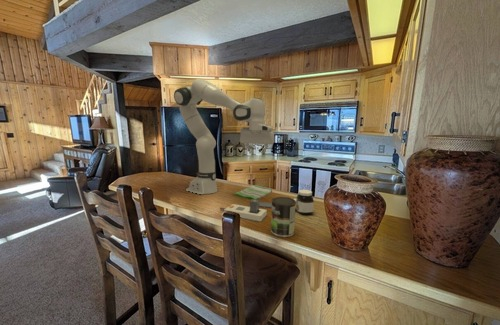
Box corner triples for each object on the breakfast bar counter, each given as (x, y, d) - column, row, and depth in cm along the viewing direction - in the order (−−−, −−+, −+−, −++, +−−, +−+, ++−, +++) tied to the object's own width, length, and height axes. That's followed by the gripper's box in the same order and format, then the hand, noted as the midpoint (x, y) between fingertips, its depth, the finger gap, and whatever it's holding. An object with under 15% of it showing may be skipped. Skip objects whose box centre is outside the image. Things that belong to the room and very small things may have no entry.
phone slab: (253, 207, 124) (253, 205, 124) (255, 203, 130) (256, 201, 130) (277, 209, 120) (277, 208, 120) (278, 205, 127) (278, 203, 126)
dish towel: (272, 192, 152) (273, 187, 151) (255, 201, 133) (255, 196, 132) (252, 188, 161) (252, 184, 161) (233, 196, 142) (233, 191, 142)
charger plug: (249, 216, 108) (250, 201, 107) (252, 214, 111) (252, 199, 110) (256, 217, 106) (256, 202, 105) (258, 215, 110) (259, 200, 108)
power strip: (216, 213, 112) (215, 206, 112) (224, 207, 121) (224, 201, 120) (260, 222, 103) (260, 215, 102) (266, 215, 111) (266, 208, 110)
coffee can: (278, 239, 87) (279, 206, 85) (266, 228, 97) (267, 198, 94) (299, 234, 91) (301, 203, 89) (286, 224, 101) (287, 195, 98)
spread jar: (315, 215, 111) (316, 194, 110) (294, 216, 110) (295, 194, 108) (305, 207, 123) (306, 187, 121) (286, 208, 121) (287, 188, 119)
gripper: (238, 127, 123) (238, 151, 125) (272, 127, 115) (271, 153, 117) (242, 127, 128) (242, 150, 131) (275, 127, 120) (274, 152, 123)
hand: (256, 151), depth 124 cm, fingers open, 8 cm apart
